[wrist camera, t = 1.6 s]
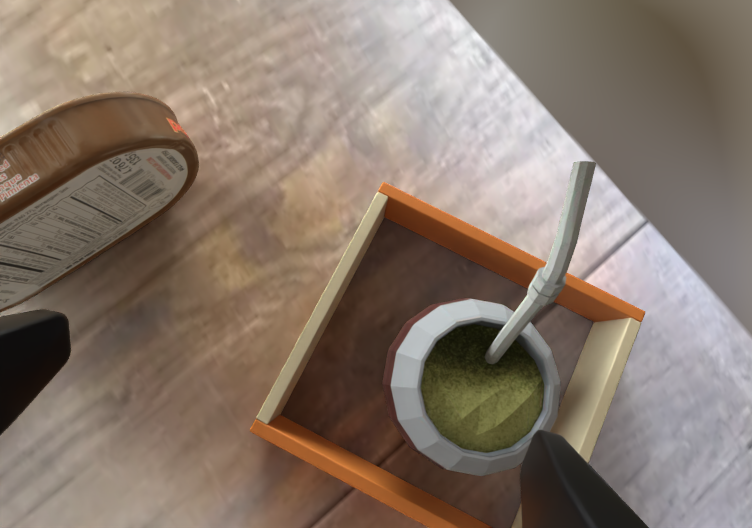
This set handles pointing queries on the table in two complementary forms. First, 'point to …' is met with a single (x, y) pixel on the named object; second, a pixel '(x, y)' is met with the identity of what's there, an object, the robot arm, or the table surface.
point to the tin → (85, 184)
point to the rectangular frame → (609, 313)
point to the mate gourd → (483, 366)
